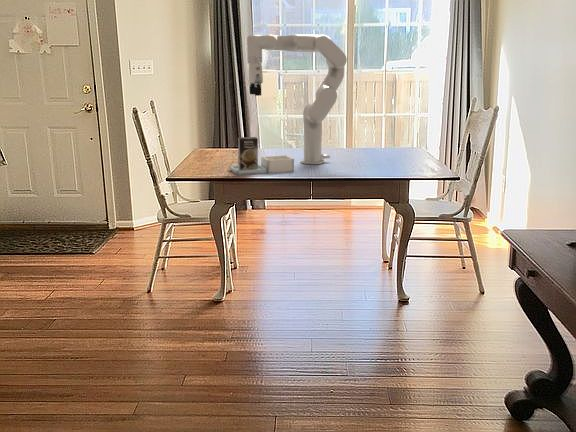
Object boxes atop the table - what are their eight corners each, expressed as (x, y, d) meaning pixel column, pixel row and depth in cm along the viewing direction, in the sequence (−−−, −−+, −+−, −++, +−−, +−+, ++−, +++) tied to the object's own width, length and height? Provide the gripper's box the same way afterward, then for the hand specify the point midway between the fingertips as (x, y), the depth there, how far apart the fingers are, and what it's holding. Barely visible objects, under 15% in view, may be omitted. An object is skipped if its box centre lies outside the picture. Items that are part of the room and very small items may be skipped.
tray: (258, 168, 295) (258, 164, 295) (266, 173, 283) (266, 169, 282) (230, 169, 291) (229, 166, 290) (236, 175, 278) (236, 171, 277)
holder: (286, 166, 299) (286, 155, 297) (293, 170, 289) (293, 158, 287) (261, 168, 295) (261, 156, 293) (268, 172, 284) (267, 160, 283)
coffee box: (240, 171, 283) (239, 138, 278) (238, 169, 289) (237, 137, 284) (258, 170, 285) (257, 138, 280) (256, 168, 291) (255, 136, 286)
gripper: (267, 60, 284) (267, 95, 289) (257, 60, 300) (257, 93, 304) (252, 60, 282) (253, 96, 286) (243, 60, 297) (244, 94, 302)
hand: (255, 94), depth 295 cm, fingers open, 9 cm apart
